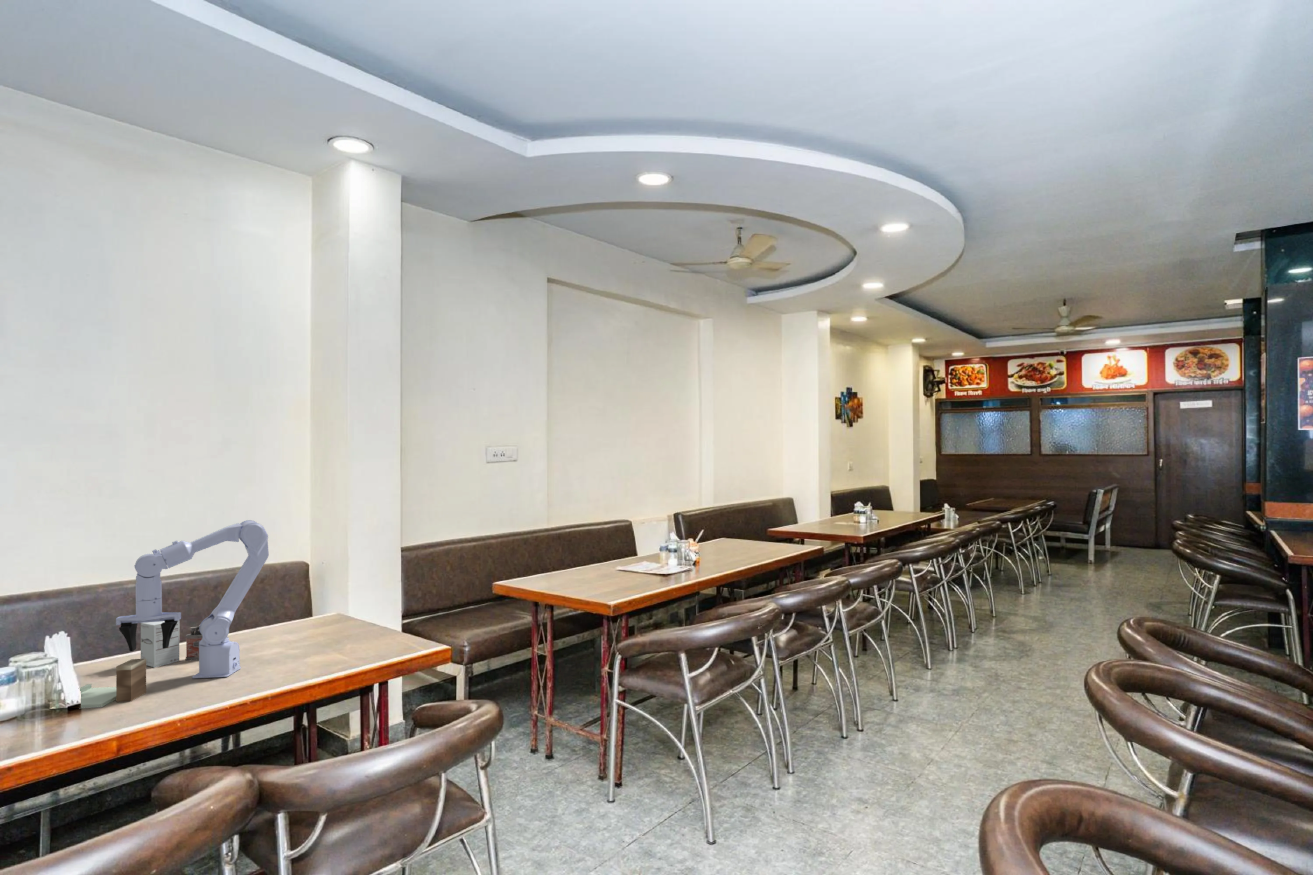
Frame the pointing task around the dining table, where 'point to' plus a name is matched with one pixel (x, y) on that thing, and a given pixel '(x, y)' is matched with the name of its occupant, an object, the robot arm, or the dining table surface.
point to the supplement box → (158, 645)
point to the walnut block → (130, 680)
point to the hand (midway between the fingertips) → (149, 648)
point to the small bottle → (193, 644)
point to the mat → (96, 696)
